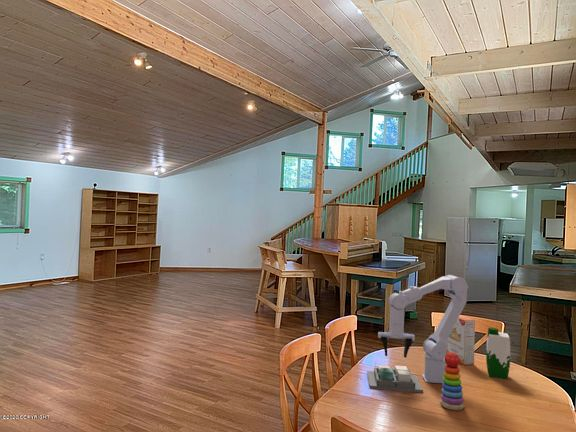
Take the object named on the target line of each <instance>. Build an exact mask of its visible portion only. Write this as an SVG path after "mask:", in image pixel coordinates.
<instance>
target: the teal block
mask: <svg viewBox="0 0 576 432" xmlns="http://www.w3.org/2000/svg"><path fill="white" fill-rule="evenodd" d="M392 369H393V368H391V367H390V368H380V380H389V381H393V371H392Z"/></svg>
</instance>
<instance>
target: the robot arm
mask: <svg viewBox="0 0 576 432" xmlns="http://www.w3.org/2000/svg"><path fill="white" fill-rule="evenodd" d="M468 289H469V285H468V283H467V281H466V279H465V278H463V277H460V276H459V277H458V276H455V275H453V274H447V275H445V276H444V275H443V276H440V277H438V278H437V279H435V280H433V281H431V282H429V283H426V284H424V285H422V286H420V287H418V286H412V285H410V286H409V288H408V289H407V288H406V289H405V290H398V293H397V292H394V293H391V294H390V295H389V297H388V299H387V303H388V304H389V306H390V307H389V327H388V328H389V330H388V331H384V332H383V331H378V332H377V337H378V339H380V340H381V342H382V346H383V349H384V355H385V357H388V339H399V340H404V342H403V343H404V349H403V357H404V358H407V356H408V352H409V350H410V347H411V346H412V344H413V341H416V340H415V339H416V337H415V334H413V333H406V332H404V330H405V328H404V327H405V326H404V325H405V309H406V307H407V306H408V305H410V304H413V303H415V302H417V301H420V300H422V299H423V296H425V295H427V294H429V293H432V292H436V291H438V290H445V291H447V292H448V294H449V296H450V299H451V300H450V303H448V307H447V308H446V310H445V312H444V314H443V316H442V317H441V320H440V322H439V323H438V326H437V328H436V330H435V331H434V332H433V333H431V334H430V335H429V337H428V338H427V339H426V340H424V342H423V344H422V348H423V350H424V352H425V354H424V373H422V374H421V376H422V379H424V382H425V383H436V384H443V378H444V372H445V369H444V368H445V366H446V365H447V364H446V363H445V355H446V350H447V347H448V342H447V339H448V337H449V335H450V333H451V331H452V329H453V327H454V325H455V323H456V321H457V320H458V318H459V316H460V315H461V314H462V312H463V309H464V308H465V306H466V304H467V300H468V299H467V298H468Z"/></svg>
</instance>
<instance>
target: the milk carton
mask: <svg viewBox="0 0 576 432" xmlns="http://www.w3.org/2000/svg"><path fill="white" fill-rule="evenodd" d="M486 336H487V338H486V359H485V360H486V369H487V376H488V377H489V378H493V379H499V380H507V381H508V378H509V373H510V367H511V340H510V336H509V334H508V333H506V332H502V331H501V332H500V331H499V328H497V327H488V328H487V335H486Z"/></svg>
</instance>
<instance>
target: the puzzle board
mask: <svg viewBox="0 0 576 432" xmlns="http://www.w3.org/2000/svg"><path fill="white" fill-rule="evenodd" d="M373 368H374V369H373V371H370V370H367V371H366V374H367V380H368V381H367V382H368V385H369V389H373V390H376V389H377V390H385V391H387V390H388V391H396V392H397V391H398V392H408V393H409V392H410V393H422V394H423V393H424V388H423V387H422V385H421V383H420V380H419V379H418V377H417V375H416V374H411V371H410V369H408V368H407V366H405V365H404V366H403V365H395V366H394V368H392V371H393V381H389V380H380V368H391V367H390V366H389V365H380V364H379V365H378V367H373Z"/></svg>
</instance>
